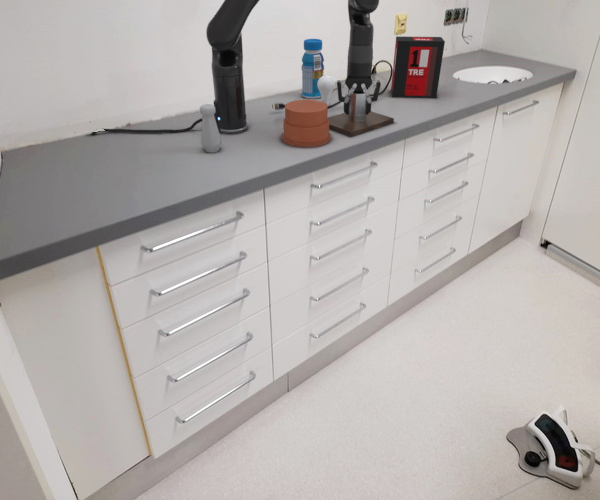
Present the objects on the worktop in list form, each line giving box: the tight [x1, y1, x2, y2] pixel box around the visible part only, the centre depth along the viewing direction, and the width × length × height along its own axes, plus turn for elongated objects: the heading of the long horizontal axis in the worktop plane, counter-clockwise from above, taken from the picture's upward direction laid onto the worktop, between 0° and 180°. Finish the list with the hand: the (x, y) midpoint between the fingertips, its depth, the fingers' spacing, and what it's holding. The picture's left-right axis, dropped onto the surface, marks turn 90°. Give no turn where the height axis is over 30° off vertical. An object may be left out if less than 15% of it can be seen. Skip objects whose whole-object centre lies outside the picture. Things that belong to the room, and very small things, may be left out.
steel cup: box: [347, 90, 367, 122], centre depth 153 cm, size 6×6×9 cm
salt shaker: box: [199, 103, 222, 154], centre depth 134 cm, size 6×6×13 cm
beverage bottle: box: [301, 38, 325, 99], centre depth 178 cm, size 8×8×20 cm
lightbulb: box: [317, 74, 336, 107], centre depth 168 cm, size 6×6×11 cm
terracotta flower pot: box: [281, 99, 332, 148], centre depth 142 cm, size 15×15×10 cm
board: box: [327, 110, 395, 137], centre depth 156 cm, size 20×15×2 cm
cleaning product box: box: [390, 36, 446, 99], centre depth 179 cm, size 16×9×20 cm, turn 84°
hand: (356, 113), depth 154 cm, fingers closed on steel cup, 6 cm apart
